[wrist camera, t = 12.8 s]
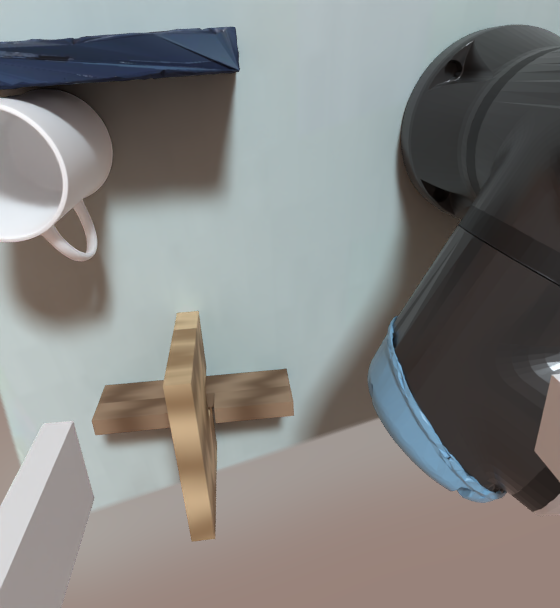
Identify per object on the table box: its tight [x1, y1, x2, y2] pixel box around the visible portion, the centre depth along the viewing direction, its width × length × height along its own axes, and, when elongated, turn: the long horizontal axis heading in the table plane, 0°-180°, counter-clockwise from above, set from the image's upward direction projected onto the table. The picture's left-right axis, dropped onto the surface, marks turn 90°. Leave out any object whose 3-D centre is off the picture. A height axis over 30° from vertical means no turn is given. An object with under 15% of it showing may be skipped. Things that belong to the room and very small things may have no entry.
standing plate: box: [92, 369, 294, 435], centre depth 47 cm, size 18×2×6 cm, turn 92°
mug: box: [0, 89, 113, 261], centre depth 35 cm, size 12×8×12 cm
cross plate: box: [163, 311, 217, 541], centre depth 45 cm, size 16×2×12 cm, turn 3°
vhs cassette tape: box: [0, 27, 240, 89], centre depth 33 cm, size 18×3×10 cm, turn 92°
